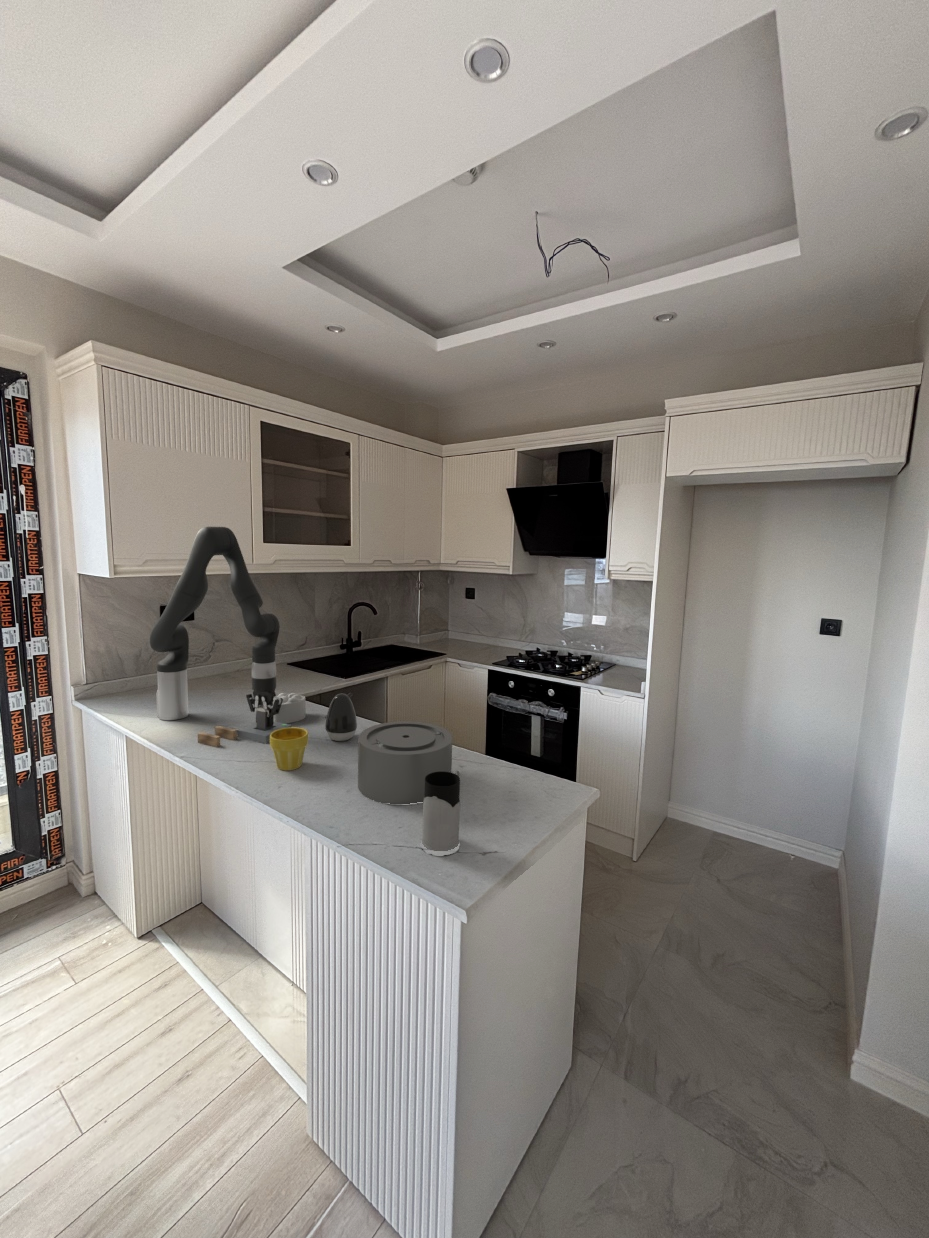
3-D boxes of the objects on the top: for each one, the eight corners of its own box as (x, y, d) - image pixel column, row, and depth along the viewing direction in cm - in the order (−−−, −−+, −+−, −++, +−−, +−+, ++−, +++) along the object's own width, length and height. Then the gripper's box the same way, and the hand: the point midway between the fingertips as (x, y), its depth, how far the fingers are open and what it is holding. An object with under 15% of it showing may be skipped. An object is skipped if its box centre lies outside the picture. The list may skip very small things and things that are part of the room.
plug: (256, 731, 173) (256, 707, 172) (264, 728, 176) (264, 704, 175) (265, 733, 171) (264, 709, 170) (272, 729, 175) (272, 706, 174)
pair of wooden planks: (197, 742, 165) (197, 733, 165) (218, 734, 172) (218, 725, 172) (216, 746, 162) (216, 737, 162) (237, 738, 169) (236, 729, 169)
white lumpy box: (264, 718, 190) (264, 695, 189) (297, 711, 200) (296, 689, 198) (278, 725, 183) (278, 701, 182) (311, 717, 193) (311, 694, 191)
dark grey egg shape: (363, 736, 176) (364, 692, 174) (344, 746, 166) (344, 699, 164) (339, 730, 180) (339, 687, 178) (318, 740, 171) (318, 695, 169)
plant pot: (292, 776, 144) (292, 742, 142) (262, 769, 147) (261, 736, 146) (315, 762, 153) (315, 730, 152) (286, 756, 157) (286, 724, 155)
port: (237, 737, 171) (236, 729, 170) (264, 726, 182) (263, 718, 181) (265, 743, 166) (265, 735, 166) (291, 732, 177) (291, 724, 177)
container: (467, 794, 137) (469, 745, 135) (375, 814, 125) (376, 761, 123) (427, 759, 159) (429, 717, 157) (346, 773, 147) (346, 727, 145)
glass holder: (413, 850, 110) (414, 783, 108) (440, 819, 124) (441, 758, 122) (451, 860, 107) (453, 791, 105) (474, 827, 121) (477, 765, 119)
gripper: (289, 675, 172) (289, 725, 174) (255, 670, 177) (256, 719, 180) (272, 680, 165) (273, 732, 167) (238, 674, 170) (239, 725, 173)
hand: (264, 725), depth 173 cm, fingers closed on plug, 3 cm apart
